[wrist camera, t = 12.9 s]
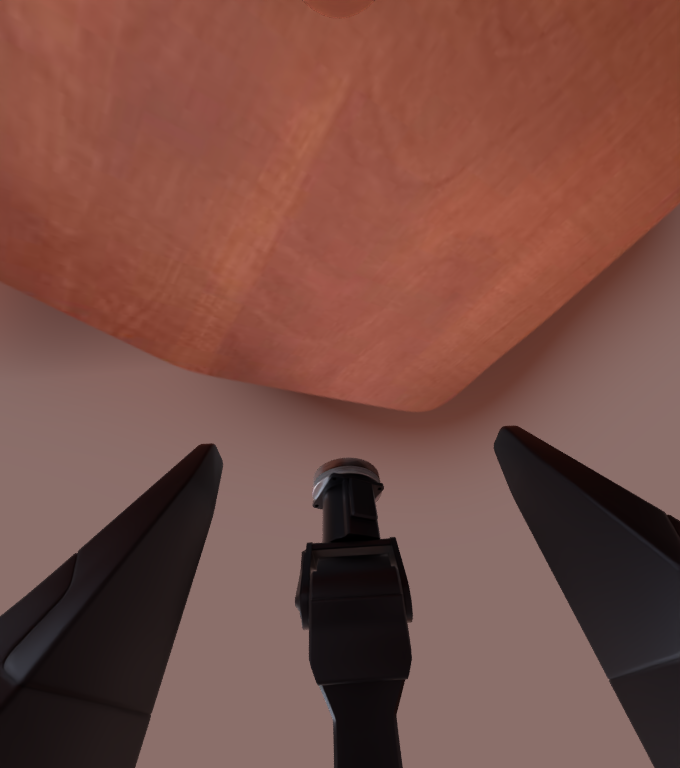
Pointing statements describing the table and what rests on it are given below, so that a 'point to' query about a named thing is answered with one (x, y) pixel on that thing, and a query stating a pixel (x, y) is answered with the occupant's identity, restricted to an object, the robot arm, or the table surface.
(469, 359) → the table surface
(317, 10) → the lever
